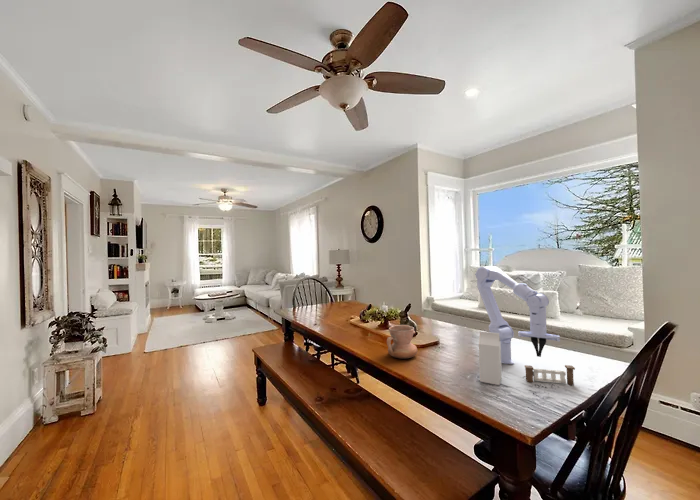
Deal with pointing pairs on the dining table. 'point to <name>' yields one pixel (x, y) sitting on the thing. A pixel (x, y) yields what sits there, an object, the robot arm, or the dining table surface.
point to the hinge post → (570, 374)
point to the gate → (553, 375)
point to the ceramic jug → (401, 342)
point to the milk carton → (490, 358)
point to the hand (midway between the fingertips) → (538, 355)
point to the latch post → (529, 373)
